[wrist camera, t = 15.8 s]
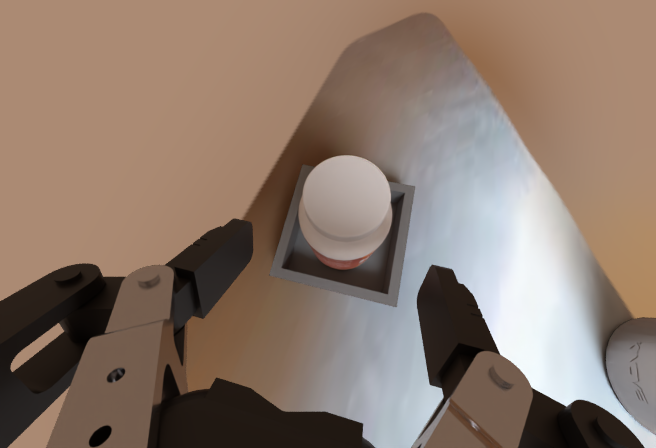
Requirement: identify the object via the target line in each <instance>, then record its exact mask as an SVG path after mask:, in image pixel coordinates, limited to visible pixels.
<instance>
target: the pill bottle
mask: <svg viewBox="0 0 656 448" xmlns="http://www.w3.org/2000/svg"><path fill="white" fill-rule="evenodd" d="M390 202H391V192H390V187H389V183H388V181H387V179H386V177H385V175H384V174H383V173H382V171H381V170H380V169H379V168H378V167H377V166H376V165H374V164H373V163H372V162H370V161H368V160H366V159H364V158H361V157H357V156H351V155H342V156H336V157H332V158H329V159H327V160H325V161H323V162H321V163H320V164H318V165H317V166H316V167H315V168H314V169H313V170H312V171H311V172H310V174H309V175H308V177H307V179H306V181H305V184H304V187H303V195H302V198H301V200H300V204H299V211H298V216H299V223H300V227H301V230H302V233H303V235H304V237H305V239H306V241H307V242H308V244H309V245H310V247H311V249H312V250H313V252H314V253H315V255H316V256H317V258H318V259H319V260H320V261H321V262H322V263H324V264H325V265H327V266H329V267H331V268H334V269H339V270H347V269H352V268H355V267H357V266H359V265H361V264H362V263H364V262H365V261H366V260H367V259H368V258H369V257H370V256H371V255H372V253H373V252H374V251H375V250H376V249H377V248H378V247H379V246H380V245H381V244H382V242H383V241H384V240H385V238H386V236H387V234H388V232H389V230H390V227H391V222H392V207H391V203H390Z"/></svg>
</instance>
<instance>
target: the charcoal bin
mask: <svg viewBox="0 0 656 448" xmlns="http://www.w3.org/2000/svg"><path fill="white" fill-rule="evenodd" d="M314 168H315V167H313V166H308V165H303V164H302V168H301V171H300V174H299V178H298V181H297V184H296V188H295V191H294V194H293V198H292V201H291V204H290V208H289V211H288V214H287V218H286V221H285V224H284V228H283V231H282V234H281V238H280V241H279V244H278V248H277V251H276V254H275V258H274V261H273V264H272V268H271V271H270V274H269V275H270V276H274V277H278V278H282V279H286V280H290V281H294V282H298V283H302V284H306V285H310V286H314V287H318V288H322V289H326V290H330V291H334V292H338V293H342V294H346V295H350V296H354V297H358V298H362V299H366V300H370V301H374V302H377V303H381V304H385V305H389V306H393V307H397V301H398V294H399V288H400V281H401V275H402V268H403V262H404V256H405V249H406V243H407V236H408V230H409V223H410V217H411V210H412V204H413V197H414V191H415V186H410V185H405V184H400V183H394V182H389V181H388V183H389V187H390V192H391V202H390V203H391V207H392V222H391V227H390V230H389V232H388V234H387V236H386V238H385V240H384V241H383V242H382V244H381V245H380V246H379V247H378V248H377V249H376V250H375V251H374V252H373V253H372V255H371V256H370V257H369V258H368V259H367V260H366V261H365V262H364V263H362V264H361V265H359V266H357V267H355V268H352V269H347V270H339V269H334V268H331V267H329V266H327V265H325V264H324V263H322V262H321V261H320V260H319V259H318V258H317V256H316V255H315V253H314V252H313V250H312V249H311V247H310V245H309V244H308V242H307V241H306V239H305V237H304V235H303V233H302V230H301V227H300V223H299V216H298V211H299V204H300V200H301V198H302V195H303V187H304V184H305V181H306V179H307V177H308V175H309V174H310V172H311V171H312V170H313V169H314Z"/></svg>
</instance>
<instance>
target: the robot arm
mask: <svg viewBox="0 0 656 448" xmlns="http://www.w3.org/2000/svg"><path fill="white" fill-rule="evenodd" d="M252 254H253V229H252V223H251V222H248V221H244V220H239V219H232V220H231V221H230V222H229V223H227V224H226V225H225V226H223V227H221V226H220V227H217V228H215V229H213V230H210V231H208V232H207V233H206V234H204V235H203V236H202V237H200V239H198V240H197V241H195V242H194V243H193V245H190V246H189V247H187V248H186V249H185V250H184V251H182V252H181V253H180V254H179V255H177V256H176V257H175V258H173V259H172V260H171V261H169V262H168V263H167V264H166V265H152V266H147V267H143V268H140V269H138V270H136V271H134V272H132V273H131V274H129V275H128V276H127V277H103V276H102V273H101V271H100V269H99V267H98V266H96V265H93V264H75V265H71V266H67V267H64V268H61V269H58V270H56V271H54V272H52V273H49V274H48V275H46V276H44V277H42V278H41V279H39V280H37V281H35V282H34V283H32V284H30V285H28V286H27V287H25V288H23V289H21V290H19V291H18V292H16V293H14V294H12V295H11V296H9V297H7V298H5V299H4V300H2V301H0V448H7V447H8V446H9V445H10V444H11V443H12V442H13V441H14V440H15V439H17V437H18V436H20V435H21V434H22V433H23V432H24V430H26V429H27V428H28V427H29V426H30V425H31V424H32V423H33V422H34V420H36V419H37V418H38V417H39V416H40V415H41V414H42V413H43V412H44V411H45V410H46V409H47V408H48V407H49V406H50V405H51V404H52V403H53V402H54V401H55V400H56V399H57V398H58V397H59V396H60V395H61V394H62V393H63V392H64V391H65V390H66V389H67V388H68V387H69V386H70V388H69V390H68V393H67V396H66V398H65V401H64V403H63V406H62V408H61V411H60V413H59V416H58V419H57V421H56V424H55V427H54V429H53V431H52V434H51V436H50V439H49V442H48V444H47V447H46V448H375V447H374V446H373V445H372V444H371V443H370V442H369V441H367V440H366V439H364V438H363V437H362V434H363V423H360V422H356V421H353V420H350V419H347V418H344V417H340V416H337V415H334V414H331V413H328V412H285V411H282V410H280V409H279V408H277V407H276V406H274V405H273V404H272V403H270V402H269V401H268V400H266V399H265V398H263V397H262V396H261V395H259V394H258V393H256V392H255V391H254V390H252V389H251V388H248V387H245V386H242V385H239V384H235V383H232V382H229V381H226V380H223V379H220V378H216V379H215V381H214V382H213V384H212V386H211V388H210V389H203V390H196V391H192V392H188V385H187V378H186V359H187V321H188V320H189V319H190V318H191V317H192V316H195V317H199V318H202V319H204V318H205V316H206V315H207V314H208V313H209V311H210V310H211V309H212V308H213V306H214V305H215V304H216V303H217V302H218V300H219V299H220V298H221V297H222V295H223V294H224V293H225V292H226V290H227V289H228V288H229V287H230V285H231V284H232V283H233V282H234V280H235V279H236V278H237V277H238V275H239V274H240V273H241V272H242V271H243V269H244V268H245V267H246V266H247V264H248V263H249V262H250V260H251V257H252ZM417 309H418V315H419V321H420V328H421V334H422V340H423V346H424V352H425V358H426V365H427V371H428V377H429V383H430V385H432V386H436V387H439V388H442V390H443V395H444V398H443V399H442V400H441V401H440V403H439V405H438V406H437V408H436V409H435V411H434V412H433V414H432V416H431V417H430V419H429V420H428V422H427V423H426V425H425V427H424V428H423V430H422V431H421V433H420V434H419V436H418V438H417V439H416V441H415V442H414V444H413V445H412V447H411V448H644V446H643V445H642V444H641V442H640V441H639V440H638V438H637V437H636V436H635V435H634V434H633V433H632V432H631V431H630V430H629V429H628V428H627V427H626V426H625V425H624V424H623V423H622V422H621V421H620V420H619V419H617V418H616V417H615V416H613V415H612V414H611V413H609V412H608V411H606V410H605V409H603V408H601V407H600V406H598V405H596V404H594V403H591V402H589V401H585V400H576V401H574V402H572V403H571V404H570V405H568V406H567V407H566V406H564V405H562V404H561V403H559V402H557V401H555V400H553V399H551V398H550V397H548V396H546V395H544V394H542V393H540V392H538V391H537V390H535V389H533V388H531V386H530V383H529V381H528V380H527V378H526V377H525V375H524V374H523V373H522V372H521V371H520V370H519V368H517V367H516V366H515V365H514V364H513V363H512V362H511V361H509V360H508V359H506V358H505V357H503V356H501V355H500V353H499V351H498V349H497V347H496V344H495V342H494V340H493V338H492V335H491V333H490V331H489V329H488V327H487V324H486V322H485V320H484V318H482V313H481V311H480V309H478V305H477V302H476V300H475V298H474V296H473V294H472V293H471V292H470V291H469V290H468V289H467V288H466V287H465V285H464V284H459V283H458V281H457V279H456V276H455V274H454V271H453V270H452V269H449V268H445V267H440V266H436V265H432V266H431V267H430V268H429V270H428V272H427V274H426V277H425V279H424V281H423V283H422V285H421V287H420V290H419V292H418V296H417ZM57 323H59V324H60V325H61V327H62V328H63V330H64V332H63V333H62V334H61V335H59V336H58V337H57V338H56V339H54V340H53V341H52V342H50V343H49V344H48V345H47V346H45V347H44V348H43V349H42V350H40V351H39V352H38V353H37V354H35V355H34V356H33V357H32V358H30V359H29V360H28V361H27V362H25V363H24V364H23V365H21V366H20V367H19V368H18V369H16V370H15V371H14V372H12V371H11V369H10V366H11V363H12V361H13V359H14V358H15V356H16V355H17V354H18V353H19V352H20V351H21V350H23V349H24V348H25V347H27V346H28V345H29V344H31V343H32V342H33V341H35V340H36V339H37V338H39V337H40V336H41V335H43V334H44V333H45V332H47V331H48V330H50V329H51V328H52V327H53V326H55V325H56V324H57ZM606 366H607V372H608V376H609V379H610V382H611V385H612V387H613V390H614V391H615V393H616V395H617V397H618V398H619V400H620V402H621V403H622V405H623V406H624V407H625V408H626V410H627V411H628V412H629V414H630V415H631V416H632V417H633V418H634V419H636V420H637V421H638V422H639V423H640V424H641V425H642V426H643V427H645V428H646V429H648V430H649V431H650V432H652V433H653V434H655V435H656V318H644V317H643V318H637V319H632V320H629V321H627V322H625V323H623V324H622V325H621V326H619V327H618V328H617V329H616V330H615V331H614V333H613V334H612V336H611V338H610V339H609V343H608V346H607V349H606Z"/></svg>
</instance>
